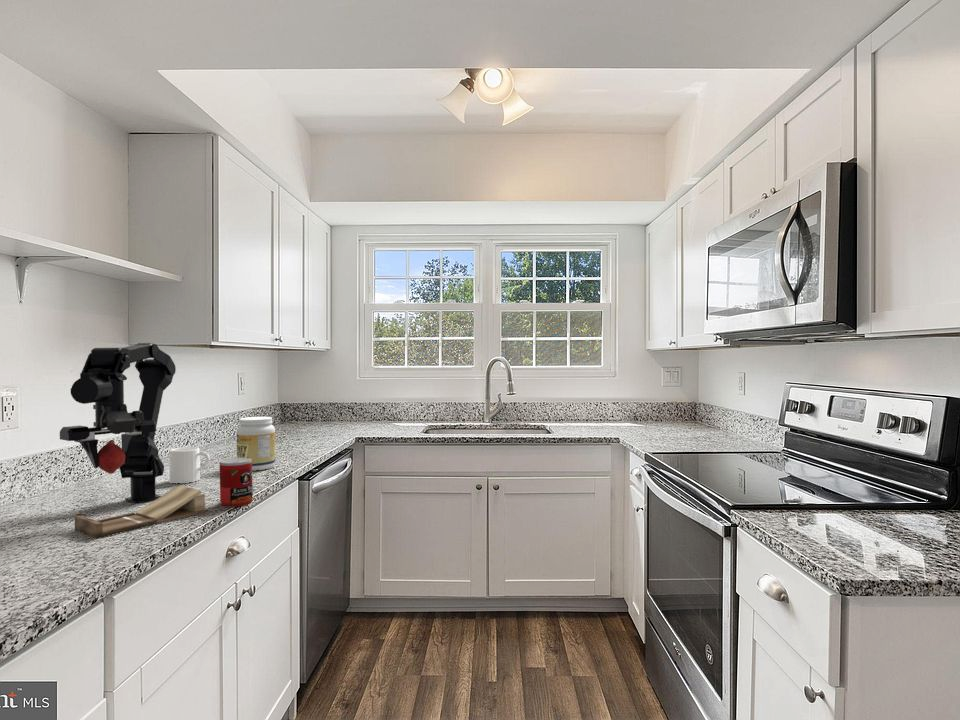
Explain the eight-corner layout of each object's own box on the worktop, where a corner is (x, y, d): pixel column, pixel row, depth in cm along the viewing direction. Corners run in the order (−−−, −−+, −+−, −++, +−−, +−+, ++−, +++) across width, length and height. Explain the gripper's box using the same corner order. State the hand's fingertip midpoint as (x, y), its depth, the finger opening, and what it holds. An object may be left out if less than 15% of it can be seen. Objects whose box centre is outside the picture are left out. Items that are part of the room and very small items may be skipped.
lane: (74, 530, 124) (74, 516, 124) (180, 506, 143) (179, 494, 143) (97, 538, 118) (97, 524, 118) (204, 512, 137) (203, 500, 137)
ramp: (135, 516, 134) (135, 493, 134) (183, 506, 143) (182, 484, 143) (157, 523, 128) (157, 499, 128) (205, 511, 138) (204, 489, 138)
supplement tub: (230, 468, 191) (229, 418, 191) (263, 463, 201) (263, 415, 200) (248, 473, 183) (247, 420, 183) (282, 467, 193) (281, 417, 193)
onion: (110, 476, 131) (110, 442, 131) (90, 475, 133) (89, 441, 133) (131, 471, 137) (130, 438, 137) (111, 470, 138) (110, 438, 138)
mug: (202, 484, 168) (202, 451, 168) (164, 484, 169) (163, 451, 169) (217, 478, 176) (216, 446, 176) (180, 478, 177) (179, 446, 177)
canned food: (232, 508, 140) (232, 464, 140) (213, 504, 144) (212, 461, 144) (259, 501, 147) (258, 459, 147) (240, 497, 151) (239, 456, 151)
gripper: (78, 404, 123) (79, 476, 123) (166, 398, 138) (168, 462, 138) (58, 402, 129) (59, 471, 129) (144, 397, 144) (145, 458, 144)
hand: (110, 465), depth 135 cm, fingers closed on onion, 6 cm apart
